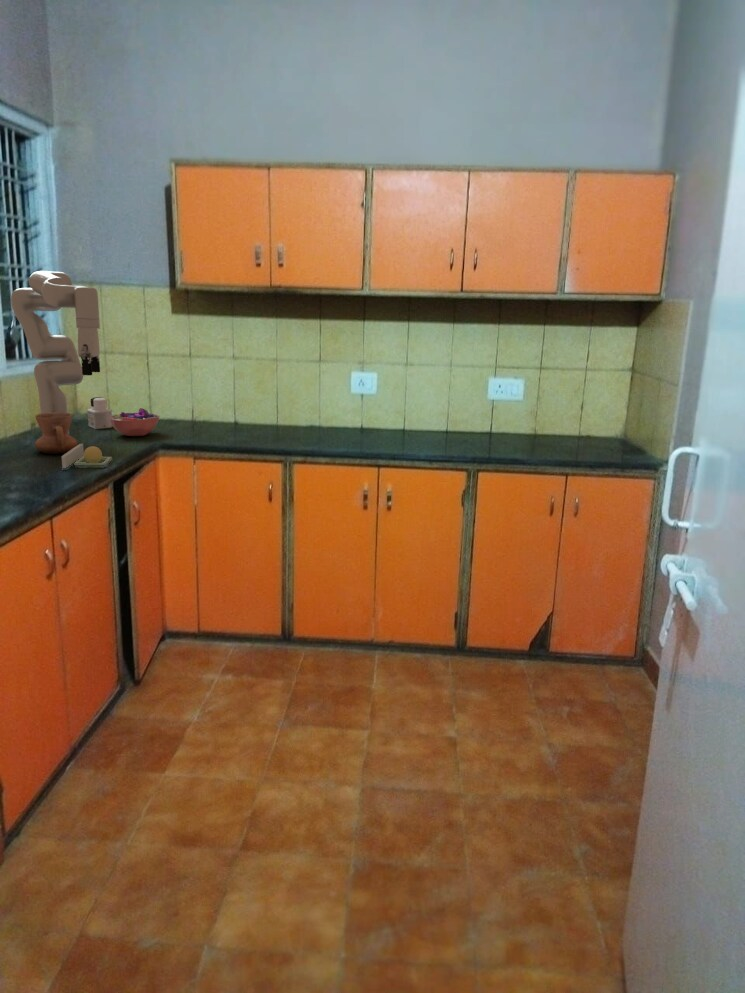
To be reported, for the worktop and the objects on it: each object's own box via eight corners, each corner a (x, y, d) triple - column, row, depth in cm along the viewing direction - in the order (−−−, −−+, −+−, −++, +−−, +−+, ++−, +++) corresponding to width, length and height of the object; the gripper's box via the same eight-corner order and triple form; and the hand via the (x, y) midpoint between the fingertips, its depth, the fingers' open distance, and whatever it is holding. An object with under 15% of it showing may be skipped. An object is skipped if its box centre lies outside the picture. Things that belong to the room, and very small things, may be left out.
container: (88, 426, 304) (86, 397, 300) (105, 424, 309) (103, 396, 305) (95, 429, 298) (93, 399, 295) (112, 427, 303) (110, 398, 300)
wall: (80, 457, 249) (79, 443, 248) (84, 457, 249) (83, 443, 248) (62, 470, 230) (61, 456, 229) (66, 470, 230) (65, 456, 229)
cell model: (104, 434, 289) (103, 407, 286) (150, 430, 302) (149, 404, 299) (120, 441, 277) (118, 414, 274) (167, 437, 290) (166, 410, 287)
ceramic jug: (32, 449, 258) (29, 411, 254) (73, 446, 266) (71, 409, 262) (39, 459, 244) (35, 420, 240) (82, 456, 251) (79, 417, 247)
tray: (83, 461, 244) (82, 456, 243) (112, 461, 245) (111, 456, 244) (74, 468, 234) (74, 462, 234) (104, 468, 235) (104, 463, 235)
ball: (87, 460, 242) (85, 444, 240) (104, 461, 243) (103, 444, 241) (82, 465, 236) (80, 448, 234) (100, 465, 237) (98, 449, 235)
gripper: (84, 322, 245) (87, 370, 250) (68, 324, 229) (72, 376, 234) (105, 323, 246) (108, 371, 251) (92, 325, 230) (95, 376, 234)
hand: (91, 373), depth 242 cm, fingers open, 9 cm apart
